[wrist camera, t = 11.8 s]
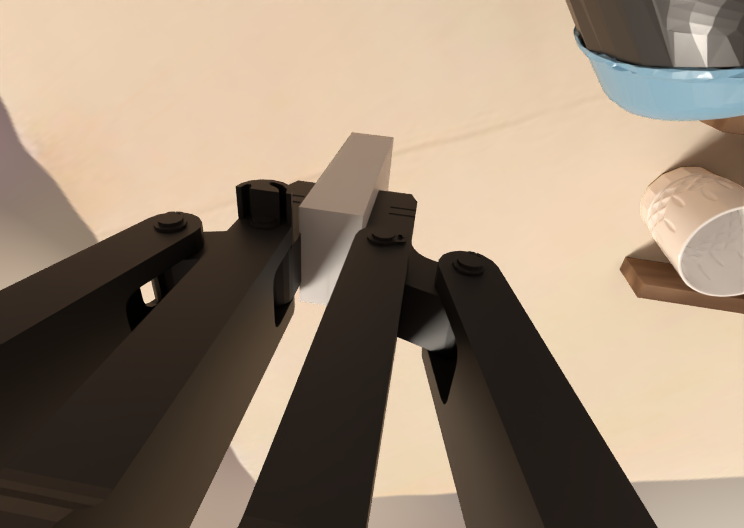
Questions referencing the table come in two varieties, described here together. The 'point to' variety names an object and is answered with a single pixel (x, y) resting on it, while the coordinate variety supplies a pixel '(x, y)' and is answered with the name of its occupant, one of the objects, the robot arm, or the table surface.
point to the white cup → (699, 228)
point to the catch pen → (663, 277)
